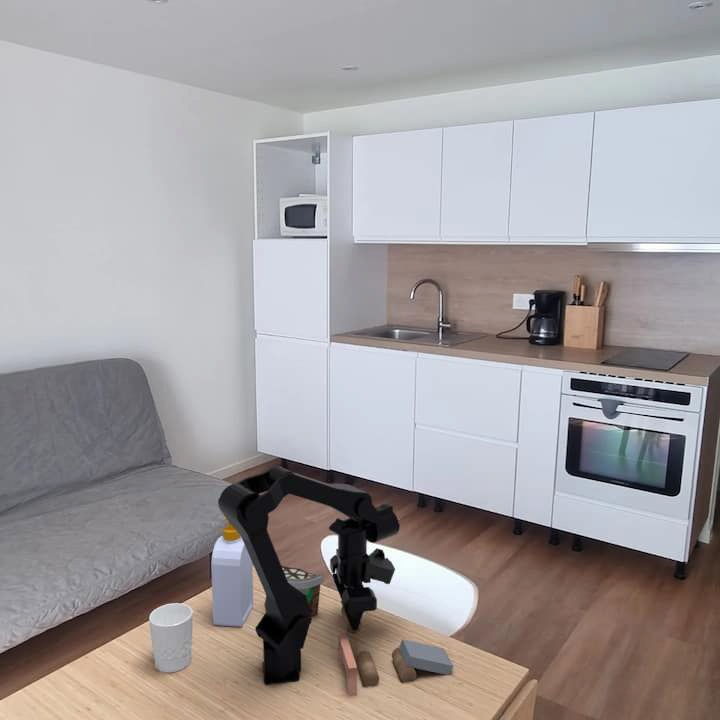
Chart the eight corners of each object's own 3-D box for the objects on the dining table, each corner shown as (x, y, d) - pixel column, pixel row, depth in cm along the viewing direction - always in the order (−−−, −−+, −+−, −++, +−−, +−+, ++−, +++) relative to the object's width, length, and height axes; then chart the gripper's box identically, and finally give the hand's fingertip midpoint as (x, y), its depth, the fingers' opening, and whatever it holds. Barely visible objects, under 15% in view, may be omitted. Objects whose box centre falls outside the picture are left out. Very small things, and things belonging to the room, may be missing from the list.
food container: (260, 614, 141) (259, 571, 140) (276, 601, 147) (276, 559, 145) (308, 630, 136) (308, 585, 134) (323, 615, 141) (323, 572, 140)
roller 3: (416, 667, 120) (416, 681, 120) (406, 646, 126) (406, 660, 126) (400, 669, 119) (400, 684, 120) (391, 648, 125) (391, 662, 126)
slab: (406, 666, 120) (410, 656, 120) (398, 648, 125) (402, 639, 125) (449, 675, 122) (453, 665, 122) (440, 657, 127) (443, 648, 127)
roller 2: (366, 671, 118) (381, 673, 118) (358, 649, 124) (373, 652, 125) (361, 686, 118) (376, 688, 119) (353, 663, 124) (368, 666, 125)
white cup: (143, 662, 125) (141, 614, 123) (180, 644, 130) (178, 598, 129) (165, 681, 119) (163, 631, 118) (202, 661, 125) (200, 613, 123)
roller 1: (347, 635, 129) (346, 622, 129) (341, 617, 135) (340, 604, 135) (362, 632, 130) (361, 619, 129) (355, 615, 136) (354, 602, 135)
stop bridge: (348, 696, 116) (348, 668, 115) (338, 660, 126) (338, 634, 125) (356, 695, 116) (357, 667, 115) (346, 659, 126) (346, 633, 125)
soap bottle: (244, 628, 136) (242, 525, 132) (212, 626, 137) (209, 523, 133) (256, 605, 145) (255, 508, 141) (226, 603, 146) (224, 506, 142)
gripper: (403, 567, 122) (402, 642, 125) (380, 526, 140) (379, 592, 143) (345, 572, 120) (345, 649, 123) (329, 530, 138) (329, 597, 141)
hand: (351, 620), depth 132 cm, fingers closed on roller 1, 6 cm apart
